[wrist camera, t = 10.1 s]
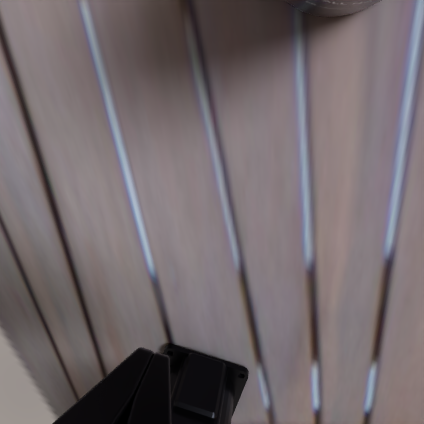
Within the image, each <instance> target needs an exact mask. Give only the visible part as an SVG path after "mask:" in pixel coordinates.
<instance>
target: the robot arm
mask: <svg viewBox="0 0 424 424" xmlns="http://www.w3.org/2000/svg"><path fill="white" fill-rule="evenodd" d="M171 351H172V352H171ZM248 372H249V371H248V369H247V368H245V367H243V366H239V365H236V364H233V363H230V362H227V361H224V360H220V359H217V358H214V357H211V356H208V355H204V354H201V353H198V352H195V351H192V350H189V349H185V348H182V347H179V346H176V345H173V344H168V345H166V347H165V350H164V353H163V354H161V353H154V352H153V351H151V350H148V349H145V348H138V349H137V350H135V351H134V352H133V353H132V354H131V355H130V356H129V357H127V358H126V359H125V360H124V361H123V362H122V363H121V364H120V365H118V366H117V367H116V368H115V369H114V370H113V371H112V372H110V373H109V374H108V375H107V376H106V377H105V378H104V379H102V380H101V381H100V382H99V383H98V384H97V385H96V386H95V387H93V388H92V389H91V390H90V391H89V392H88V393H87V394H85V395H84V396H83V397H82V398H81V399H80V400H79V401H78V402H76V403H75V404H74V405H73V406H72V407H71V408H70V409H68V410H67V411H66V412H65V413H64V414H63V415H62V416H60V417H59V418H58V419H57V420H56V421H55V422H54V423H53V424H231V418H232V416H233V413H234V411H235V408H236V406H237V403H238V401H239V399H240V396H241V394H242V391H243V389H244V386H245V384H246V381H247V379H248ZM241 373H242V374H241Z"/></svg>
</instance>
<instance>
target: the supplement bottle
mask: <svg viewBox="0 0 424 424" xmlns="http://www.w3.org/2000/svg"><path fill="white" fill-rule="evenodd" d="M285 1H286V2H288V3H289V4H290V5H292V6H293V7H295V8H297V9H298V10H300V11H303V12H305V13H308V14H311V15H315V16H321V17H337V16H344V15H349V14H353V13H356V12H358V11H361V10H363V9H366V8H368V7H370V6H372V5H374V4H376V3H378V2H380V1H382V0H285Z"/></svg>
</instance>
